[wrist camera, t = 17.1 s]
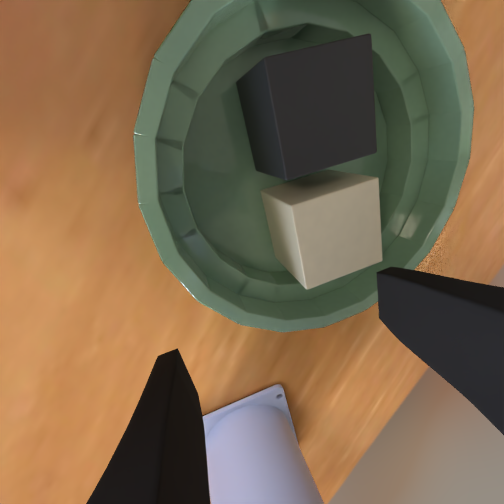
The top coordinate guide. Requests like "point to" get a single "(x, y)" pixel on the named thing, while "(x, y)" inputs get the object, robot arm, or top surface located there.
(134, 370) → the top surface
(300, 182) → the cream cube
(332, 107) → the black cube
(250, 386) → the top surface
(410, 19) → the bowl
